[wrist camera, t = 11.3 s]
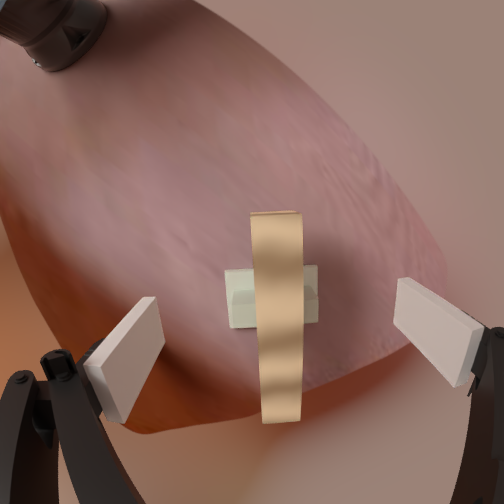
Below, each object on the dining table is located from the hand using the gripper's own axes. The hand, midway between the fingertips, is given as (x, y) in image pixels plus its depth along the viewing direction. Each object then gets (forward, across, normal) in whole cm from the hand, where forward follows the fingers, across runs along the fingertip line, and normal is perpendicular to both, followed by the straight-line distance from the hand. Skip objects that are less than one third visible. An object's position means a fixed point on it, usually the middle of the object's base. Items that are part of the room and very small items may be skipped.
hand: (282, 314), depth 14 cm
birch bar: (+17, +1, -8) cm, 19 cm away
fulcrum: (+23, +1, -8) cm, 24 cm away
